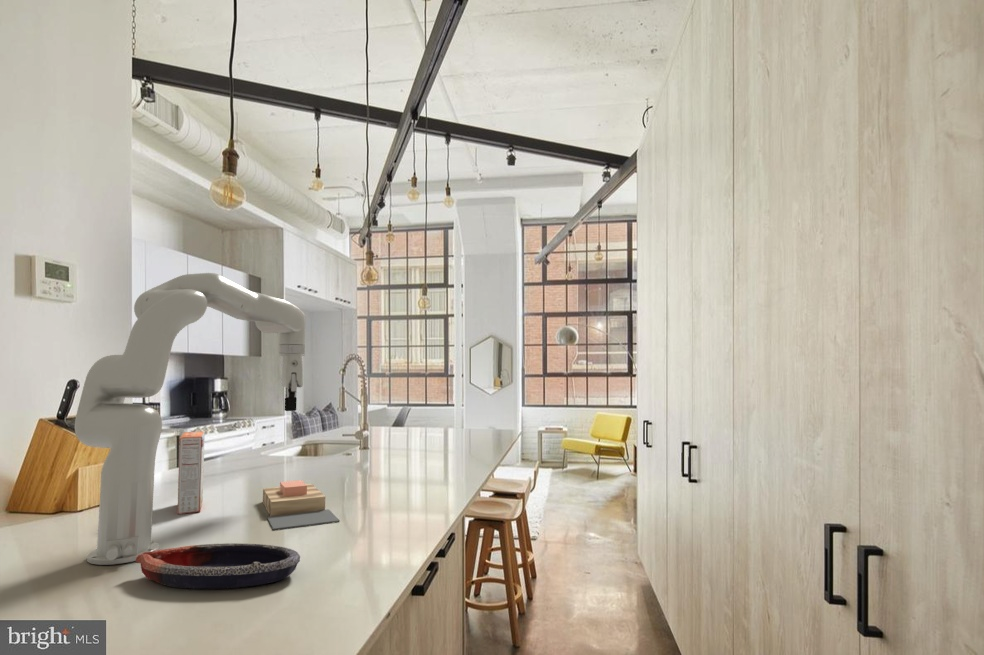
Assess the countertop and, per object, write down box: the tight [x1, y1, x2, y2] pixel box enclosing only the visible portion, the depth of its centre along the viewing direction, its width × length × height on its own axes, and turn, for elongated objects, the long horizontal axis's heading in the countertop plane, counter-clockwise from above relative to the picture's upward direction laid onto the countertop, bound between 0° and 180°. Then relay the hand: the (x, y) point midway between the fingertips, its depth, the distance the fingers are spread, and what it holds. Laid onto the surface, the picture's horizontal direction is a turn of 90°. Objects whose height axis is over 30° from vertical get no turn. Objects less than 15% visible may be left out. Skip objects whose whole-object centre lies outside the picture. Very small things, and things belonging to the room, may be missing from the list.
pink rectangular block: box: [279, 479, 307, 496], centre depth 159 cm, size 9×6×2 cm, turn 28°
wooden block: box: [262, 483, 326, 516], centre depth 159 cm, size 20×14×4 cm
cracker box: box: [177, 430, 206, 515], centre depth 158 cm, size 14×6×21 cm, turn 25°
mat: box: [266, 509, 341, 531], centre depth 144 cm, size 13×16×1 cm
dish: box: [135, 542, 301, 590], centre depth 104 cm, size 16×31×5 cm, turn 85°
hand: (290, 410), depth 170 cm, fingers closed
